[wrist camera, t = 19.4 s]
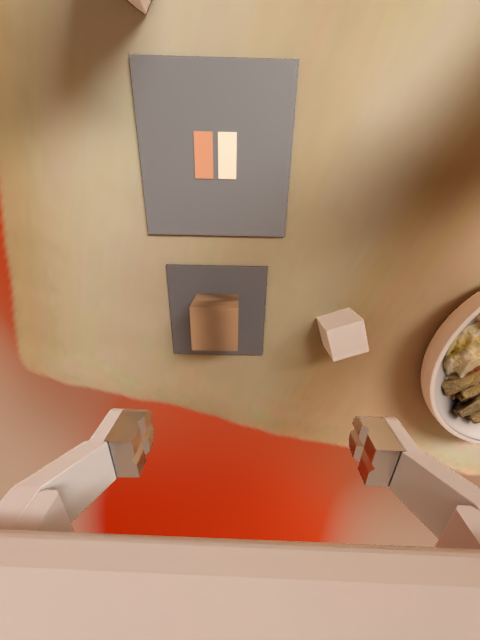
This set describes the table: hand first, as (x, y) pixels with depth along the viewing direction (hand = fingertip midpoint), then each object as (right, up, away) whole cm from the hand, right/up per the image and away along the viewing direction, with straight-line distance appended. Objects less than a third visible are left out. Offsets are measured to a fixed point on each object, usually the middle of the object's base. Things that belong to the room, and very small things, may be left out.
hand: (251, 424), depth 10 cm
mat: (-4, +5, +28) cm, 29 cm away
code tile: (-3, +24, +21) cm, 32 cm away
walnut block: (-4, +5, +28) cm, 29 cm away
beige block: (+14, +3, +29) cm, 33 cm away
